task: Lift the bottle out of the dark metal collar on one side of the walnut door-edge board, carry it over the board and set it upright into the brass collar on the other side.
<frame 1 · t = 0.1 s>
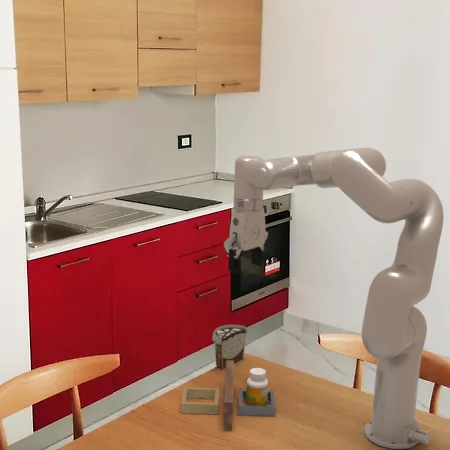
hand: (245, 268, 186), 31 cm above the table, tool pointing down, fingers open, 9 cm apart
food container: (224, 362, 203), on the table
door edge: (228, 406, 177), on the table
supplement bottle: (256, 408, 177), on the table
lock collars: (228, 406, 177), on the table
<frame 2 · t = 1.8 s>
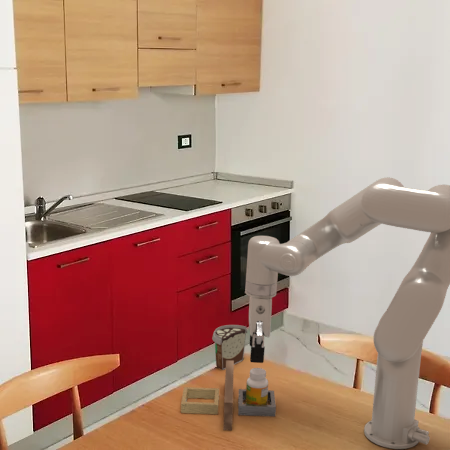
hand: (256, 353, 174), 14 cm above the table, tool pointing down, fingers open, 9 cm apart
nothing on the table moved.
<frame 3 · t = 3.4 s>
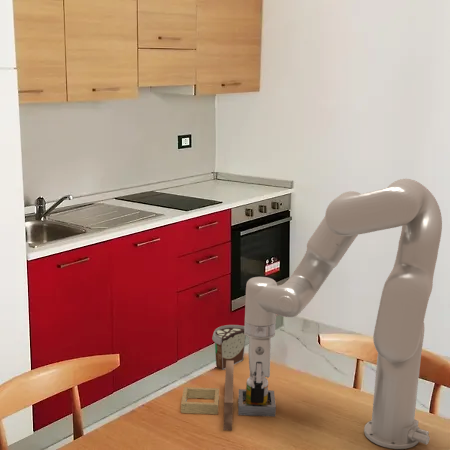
hand: (256, 396, 176), 3 cm above the table, tool pointing down, fingers closed on supplement bottle, 5 cm apart
supplement bottle: (256, 407, 177), on the table, touching gripper
everything else where it was.
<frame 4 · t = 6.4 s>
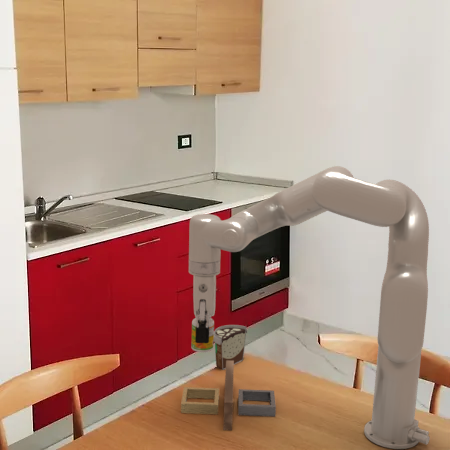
hand: (202, 337, 173), 18 cm above the table, tool pointing down, fingers closed on supplement bottle, 5 cm apart
supplement bottle: (202, 349, 173), point 15 cm above the table, touching gripper
everything else where it was.
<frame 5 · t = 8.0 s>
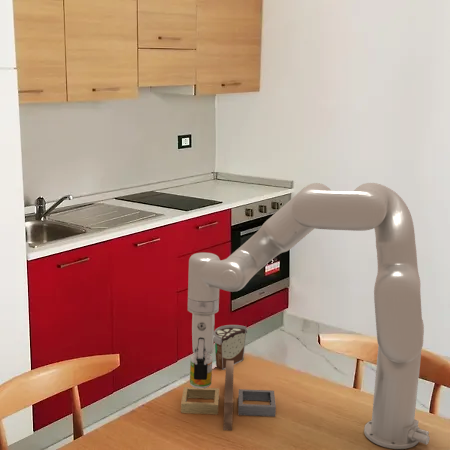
hand: (201, 373, 175), 9 cm above the table, tool pointing down, fingers closed on supplement bottle, 5 cm apart
supplement bottle: (200, 384, 176), point 5 cm above the table, touching gripper
everything else where it was.
when the fingers open (4 cm above the table, at t = 9.4 s): supplement bottle stays where it is, on the table.
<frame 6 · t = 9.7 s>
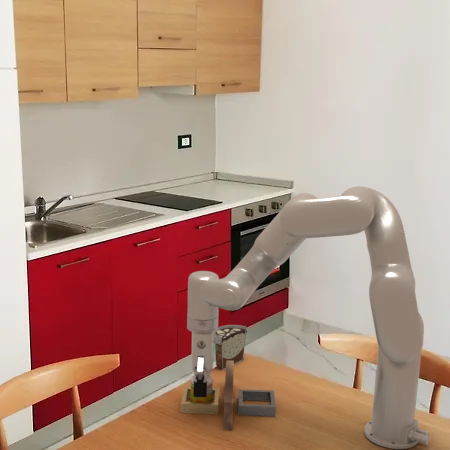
hand: (200, 388, 176), 5 cm above the table, tool pointing down, fingers open, 8 cm apart
supplement bottle: (201, 406, 177), on the table
everything else where it was.
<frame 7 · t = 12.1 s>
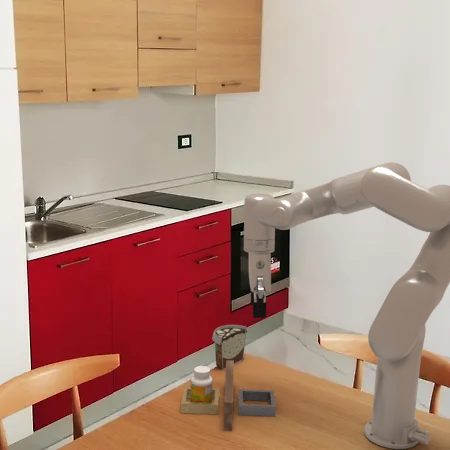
hand: (258, 311, 177), 23 cm above the table, tool pointing down, fingers open, 9 cm apart
nothing on the table moved.
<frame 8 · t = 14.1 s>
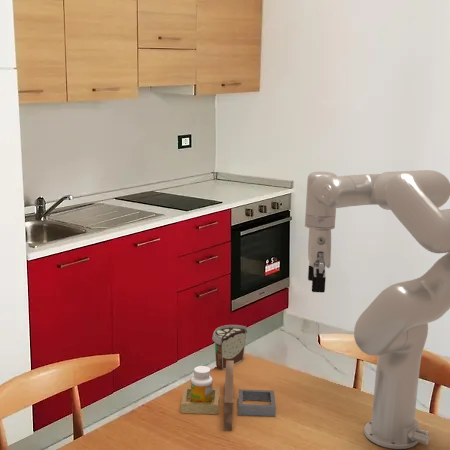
hand: (316, 286, 182), 28 cm above the table, tool pointing down, fingers open, 9 cm apart
nothing on the table moved.
at the end: supplement bottle 0.2 cm from the target spot, on the table; supplement bottle tilted 0°; the gripper is holding nothing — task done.
